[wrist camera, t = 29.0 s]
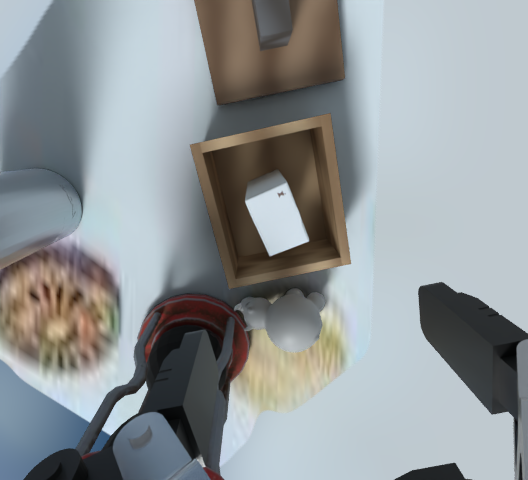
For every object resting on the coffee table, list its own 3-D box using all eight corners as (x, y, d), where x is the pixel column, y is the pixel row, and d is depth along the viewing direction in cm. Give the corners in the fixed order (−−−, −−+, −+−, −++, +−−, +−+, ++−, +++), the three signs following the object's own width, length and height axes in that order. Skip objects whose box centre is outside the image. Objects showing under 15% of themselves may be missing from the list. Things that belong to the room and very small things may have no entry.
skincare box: (246, 181, 39) (242, 198, 27) (278, 168, 38) (287, 179, 27) (265, 225, 40) (269, 258, 29) (295, 212, 40) (311, 241, 29)
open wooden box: (233, 262, 43) (229, 289, 35) (202, 144, 38) (189, 144, 31) (333, 241, 42) (351, 263, 35) (315, 118, 38) (330, 113, 30)
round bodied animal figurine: (251, 270, 46) (225, 291, 39) (331, 290, 43) (320, 318, 35) (246, 313, 48) (220, 341, 41) (323, 336, 45) (310, 372, 37)
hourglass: (117, 336, 46) (-29, 546, 22) (197, 271, 43) (128, 430, 19) (193, 402, 50) (138, 639, 26) (271, 345, 47) (289, 553, 23)
